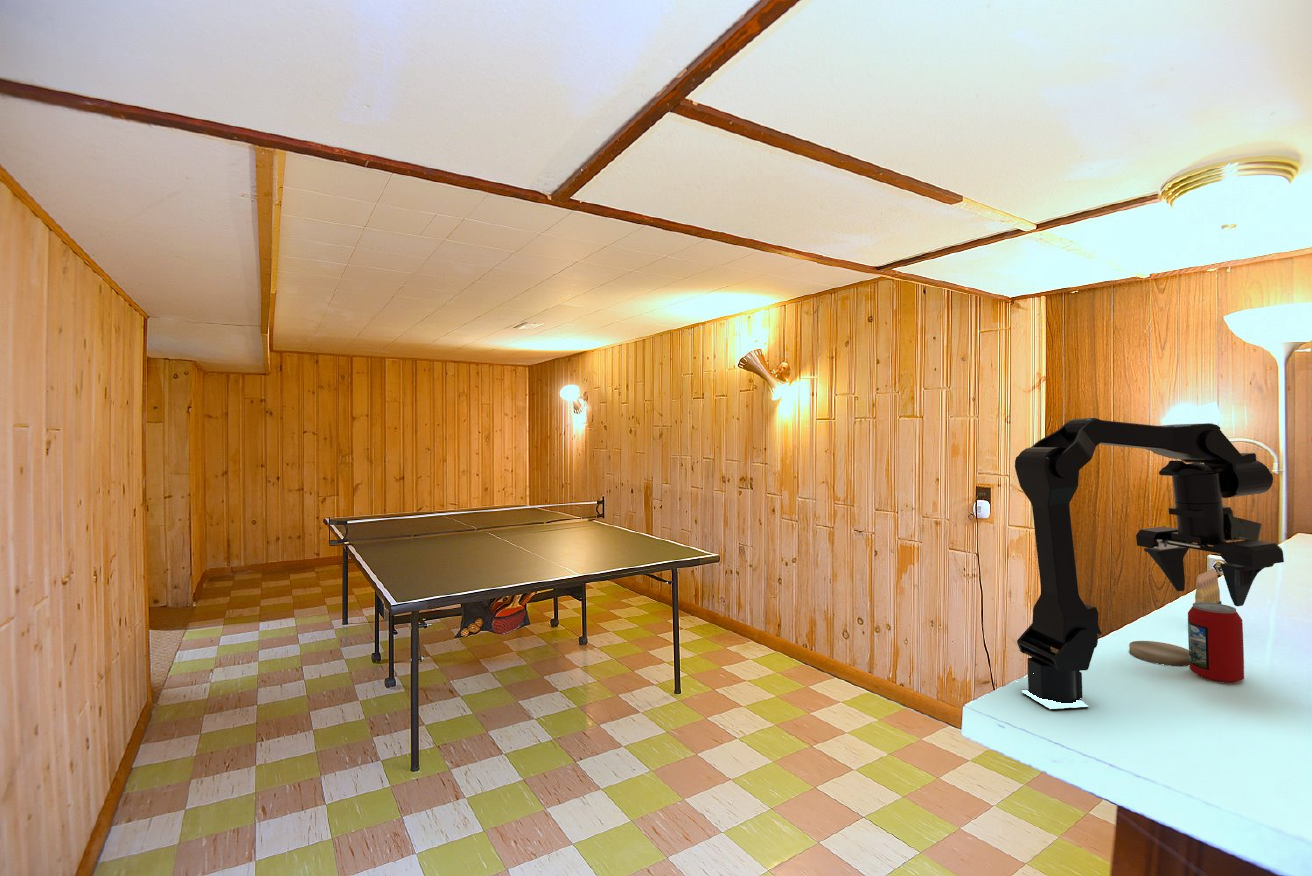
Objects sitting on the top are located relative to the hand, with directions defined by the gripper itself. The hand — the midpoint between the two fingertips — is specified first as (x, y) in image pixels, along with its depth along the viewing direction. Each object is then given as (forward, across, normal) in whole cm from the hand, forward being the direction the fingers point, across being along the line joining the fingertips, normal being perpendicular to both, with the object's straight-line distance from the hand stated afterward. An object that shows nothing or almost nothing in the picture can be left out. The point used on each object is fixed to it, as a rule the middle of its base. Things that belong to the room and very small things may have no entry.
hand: (1208, 598), depth 95 cm
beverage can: (+15, +4, -4) cm, 17 cm away
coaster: (+15, +14, -4) cm, 21 cm away
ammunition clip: (+17, +27, -28) cm, 43 cm away
